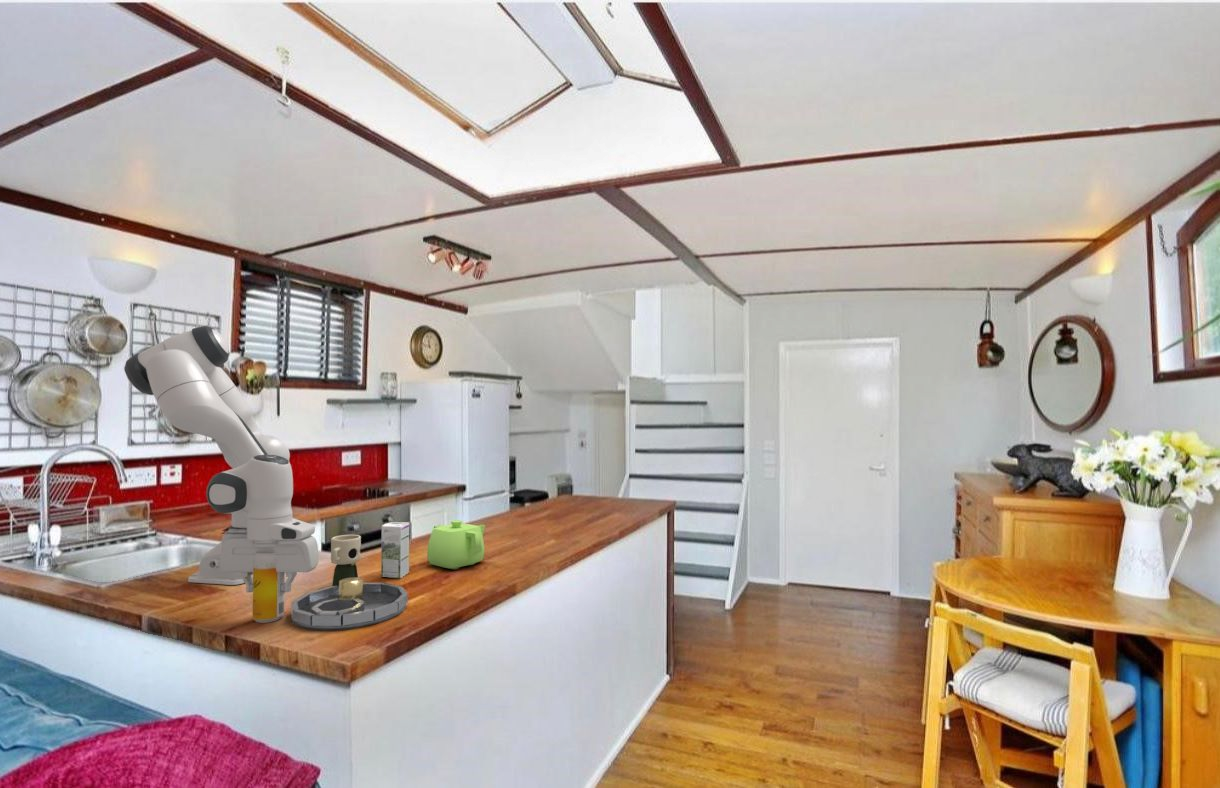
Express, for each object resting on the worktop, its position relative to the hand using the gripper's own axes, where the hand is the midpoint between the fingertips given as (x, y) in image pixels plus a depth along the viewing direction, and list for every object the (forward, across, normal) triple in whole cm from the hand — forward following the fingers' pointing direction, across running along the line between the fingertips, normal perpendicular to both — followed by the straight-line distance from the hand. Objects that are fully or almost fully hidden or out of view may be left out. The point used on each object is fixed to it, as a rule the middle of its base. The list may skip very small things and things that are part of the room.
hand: (268, 591), depth 132 cm
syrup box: (+6, +16, +34) cm, 38 cm away
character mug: (+6, +7, +23) cm, 25 cm away
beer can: (+6, 0, 0) cm, 6 cm away
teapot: (+6, +31, +48) cm, 57 cm away
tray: (+6, +16, +5) cm, 18 cm away
